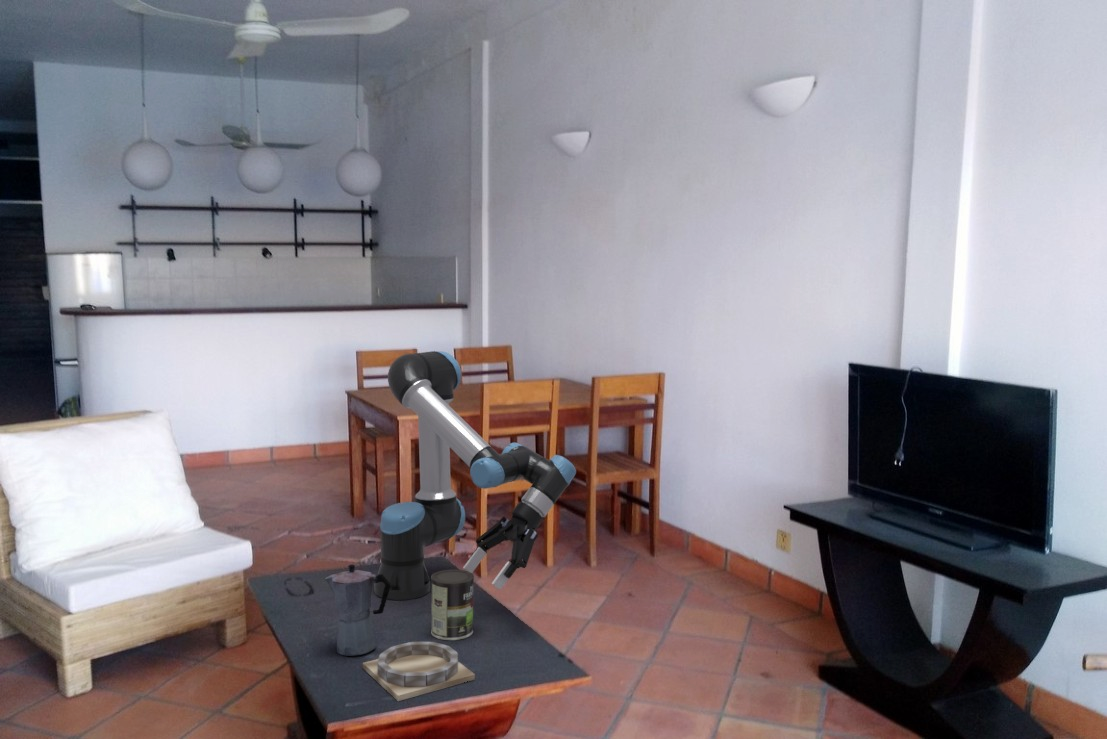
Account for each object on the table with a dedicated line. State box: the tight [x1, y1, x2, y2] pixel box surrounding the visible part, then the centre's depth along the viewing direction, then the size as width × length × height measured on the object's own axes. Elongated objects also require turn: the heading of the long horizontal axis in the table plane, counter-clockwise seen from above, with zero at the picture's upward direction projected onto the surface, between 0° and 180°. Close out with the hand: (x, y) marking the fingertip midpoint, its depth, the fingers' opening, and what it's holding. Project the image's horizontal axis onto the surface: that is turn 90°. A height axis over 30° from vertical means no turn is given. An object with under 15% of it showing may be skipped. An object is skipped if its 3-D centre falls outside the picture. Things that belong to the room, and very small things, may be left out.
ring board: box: [362, 641, 476, 702], centre depth 192 cm, size 18×18×4 cm
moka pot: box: [324, 564, 390, 657], centre depth 203 cm, size 10×15×20 cm, turn 88°
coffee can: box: [430, 569, 475, 641], centre depth 214 cm, size 10×10×14 cm
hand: (480, 578), depth 216 cm, fingers open, 13 cm apart
